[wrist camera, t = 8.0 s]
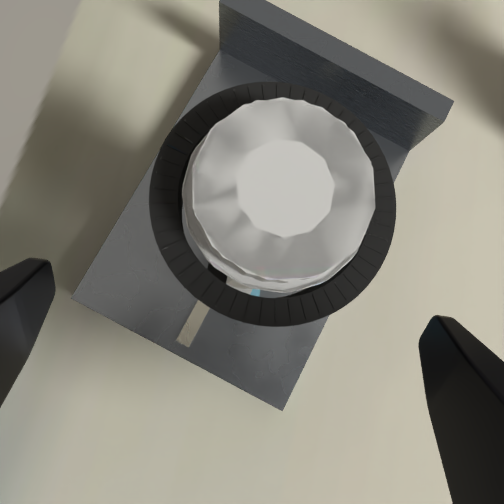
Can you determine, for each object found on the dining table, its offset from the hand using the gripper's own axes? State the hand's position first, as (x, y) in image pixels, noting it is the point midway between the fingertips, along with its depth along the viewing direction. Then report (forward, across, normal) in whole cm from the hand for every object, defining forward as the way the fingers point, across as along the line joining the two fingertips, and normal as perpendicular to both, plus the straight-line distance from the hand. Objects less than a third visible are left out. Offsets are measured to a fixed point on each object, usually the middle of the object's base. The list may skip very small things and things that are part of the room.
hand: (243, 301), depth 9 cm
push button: (+8, 0, +3) cm, 9 cm away
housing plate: (+9, 0, +3) cm, 10 cm away
